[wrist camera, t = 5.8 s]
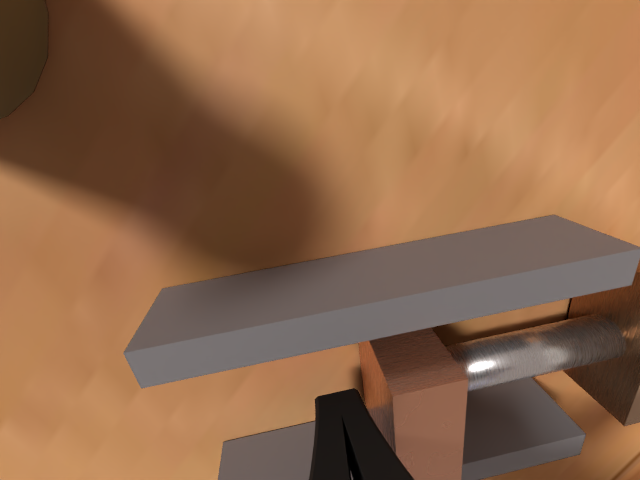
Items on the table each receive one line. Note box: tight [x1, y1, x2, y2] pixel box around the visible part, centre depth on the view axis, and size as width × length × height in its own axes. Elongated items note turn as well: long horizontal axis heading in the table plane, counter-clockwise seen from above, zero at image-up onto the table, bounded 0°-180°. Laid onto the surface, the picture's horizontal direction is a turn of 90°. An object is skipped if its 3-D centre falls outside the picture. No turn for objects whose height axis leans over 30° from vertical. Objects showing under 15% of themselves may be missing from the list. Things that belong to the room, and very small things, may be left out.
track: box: [124, 215, 640, 480], centre depth 11 cm, size 9×14×3 cm, turn 98°
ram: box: [358, 259, 640, 480], centre depth 11 cm, size 6×10×4 cm, turn 98°
